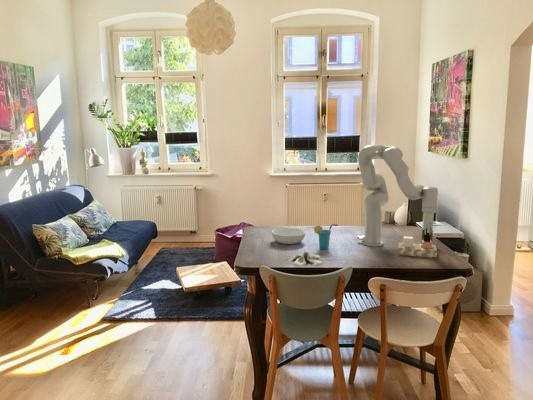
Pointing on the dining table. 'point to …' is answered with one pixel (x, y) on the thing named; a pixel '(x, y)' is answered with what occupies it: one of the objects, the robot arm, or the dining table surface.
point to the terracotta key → (426, 245)
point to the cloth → (305, 259)
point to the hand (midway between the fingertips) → (426, 241)
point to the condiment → (430, 235)
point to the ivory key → (408, 241)
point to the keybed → (417, 250)
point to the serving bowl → (288, 235)
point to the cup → (323, 236)
